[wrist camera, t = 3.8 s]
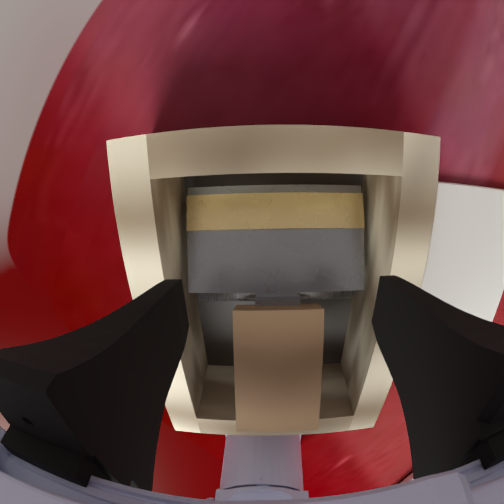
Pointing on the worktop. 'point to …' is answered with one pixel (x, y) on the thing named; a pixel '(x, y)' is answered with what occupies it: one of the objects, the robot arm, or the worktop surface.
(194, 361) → the pocket board
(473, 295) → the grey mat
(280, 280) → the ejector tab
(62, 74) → the worktop surface
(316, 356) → the walnut bar
